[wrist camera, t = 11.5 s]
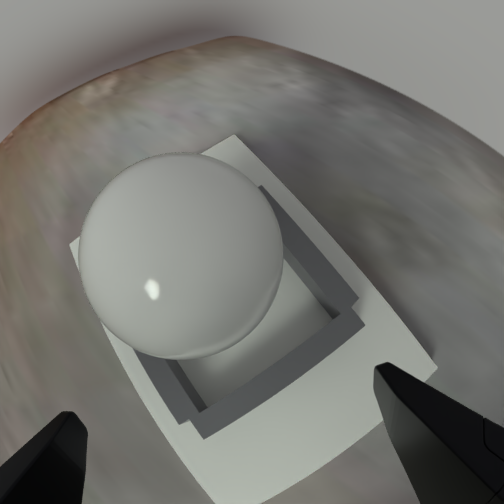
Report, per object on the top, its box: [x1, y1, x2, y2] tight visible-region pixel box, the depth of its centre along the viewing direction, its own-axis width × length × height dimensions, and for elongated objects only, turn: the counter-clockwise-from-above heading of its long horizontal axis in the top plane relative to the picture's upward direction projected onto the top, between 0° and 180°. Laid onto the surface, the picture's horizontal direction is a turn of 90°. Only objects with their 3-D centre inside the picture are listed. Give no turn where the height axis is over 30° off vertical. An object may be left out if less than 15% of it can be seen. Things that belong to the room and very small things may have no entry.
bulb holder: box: [69, 134, 438, 504], centre depth 17 cm, size 20×14×3 cm
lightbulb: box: [78, 152, 284, 360], centre depth 12 cm, size 6×6×11 cm
